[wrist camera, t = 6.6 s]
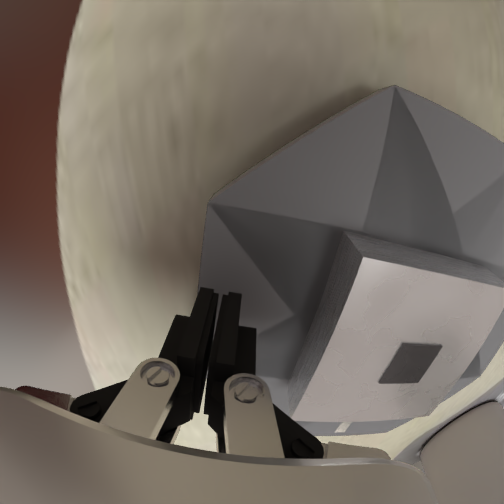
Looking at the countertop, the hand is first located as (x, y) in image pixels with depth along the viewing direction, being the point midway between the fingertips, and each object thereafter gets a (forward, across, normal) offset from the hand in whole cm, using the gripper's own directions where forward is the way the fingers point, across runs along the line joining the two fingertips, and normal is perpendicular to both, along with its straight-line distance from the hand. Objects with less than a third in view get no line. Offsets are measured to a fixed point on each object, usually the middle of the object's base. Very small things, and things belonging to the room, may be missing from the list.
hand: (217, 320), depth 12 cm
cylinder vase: (+4, -31, +18) cm, 36 cm away
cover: (+1, -9, 0) cm, 9 cm away
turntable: (+4, -9, 0) cm, 10 cm away
